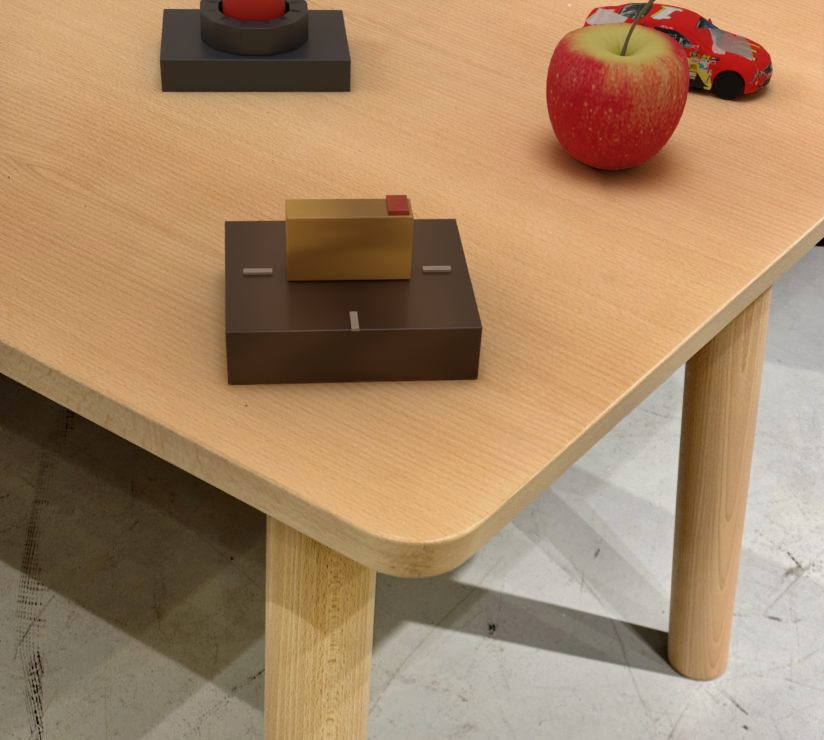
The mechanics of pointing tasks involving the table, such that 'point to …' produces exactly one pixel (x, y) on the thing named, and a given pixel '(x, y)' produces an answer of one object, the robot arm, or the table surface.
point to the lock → (349, 238)
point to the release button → (254, 9)
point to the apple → (616, 92)
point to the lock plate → (348, 314)
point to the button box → (254, 51)
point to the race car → (700, 46)
